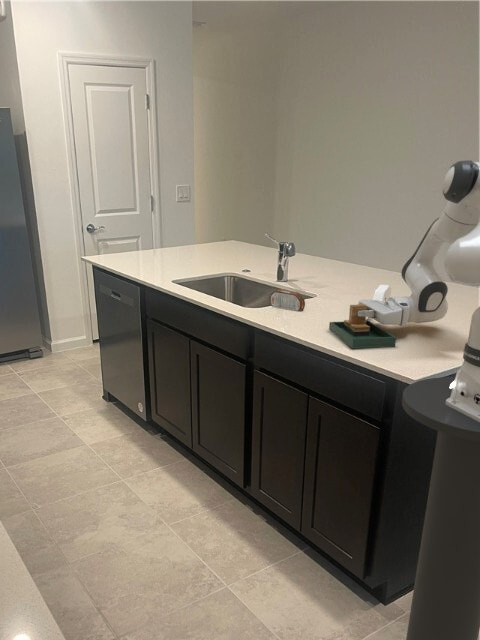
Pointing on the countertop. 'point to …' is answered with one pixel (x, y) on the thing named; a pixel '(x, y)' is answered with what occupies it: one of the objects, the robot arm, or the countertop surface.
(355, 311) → the wooden inverted t block
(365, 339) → the tray
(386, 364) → the countertop surface
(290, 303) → the tin
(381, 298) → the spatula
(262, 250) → the countertop surface
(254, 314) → the countertop surface
